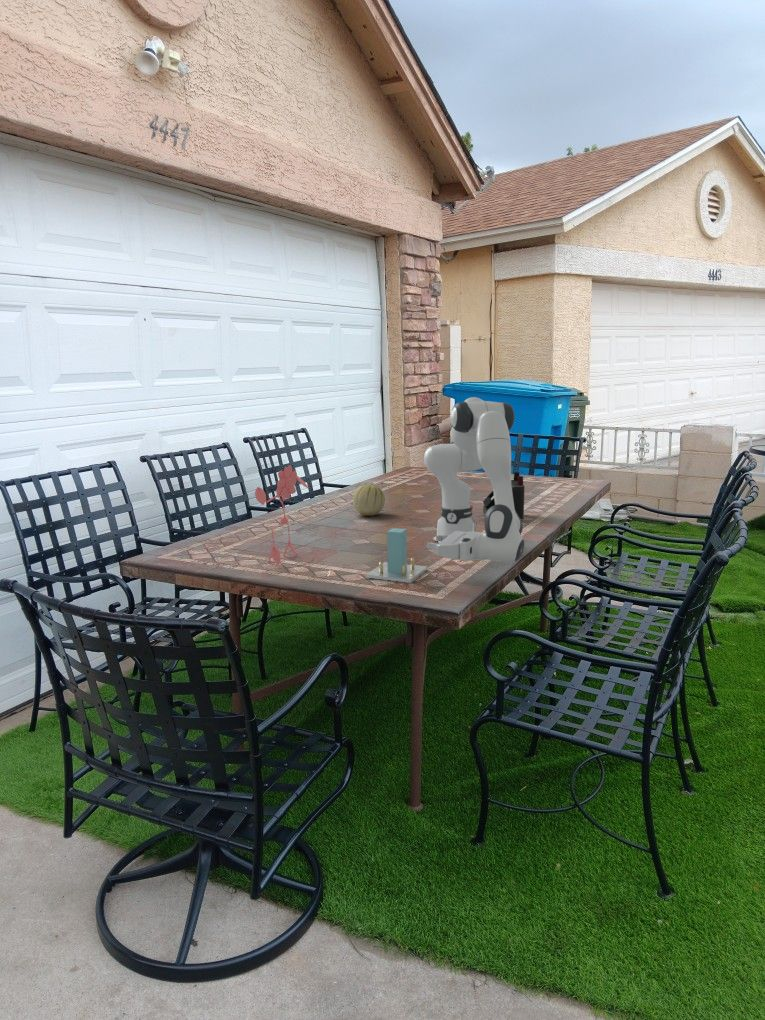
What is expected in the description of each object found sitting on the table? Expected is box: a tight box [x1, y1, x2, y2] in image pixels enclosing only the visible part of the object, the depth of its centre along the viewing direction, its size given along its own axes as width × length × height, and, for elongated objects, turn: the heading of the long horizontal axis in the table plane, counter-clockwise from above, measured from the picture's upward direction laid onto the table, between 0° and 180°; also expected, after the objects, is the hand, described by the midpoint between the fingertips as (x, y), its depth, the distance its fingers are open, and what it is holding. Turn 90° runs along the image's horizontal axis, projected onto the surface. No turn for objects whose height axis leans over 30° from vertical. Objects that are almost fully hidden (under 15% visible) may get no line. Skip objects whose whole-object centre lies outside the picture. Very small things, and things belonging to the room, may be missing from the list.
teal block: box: [386, 527, 408, 573], centre depth 246 cm, size 5×5×14 cm
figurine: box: [254, 464, 314, 567], centre depth 261 cm, size 15×26×35 cm, turn 151°
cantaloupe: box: [352, 482, 386, 517], centre depth 335 cm, size 15×15×15 cm
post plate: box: [365, 557, 428, 584], centre depth 248 cm, size 16×16×5 cm
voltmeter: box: [482, 471, 525, 521], centre depth 324 cm, size 16×16×20 cm
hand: (432, 541), depth 241 cm, fingers open, 8 cm apart
